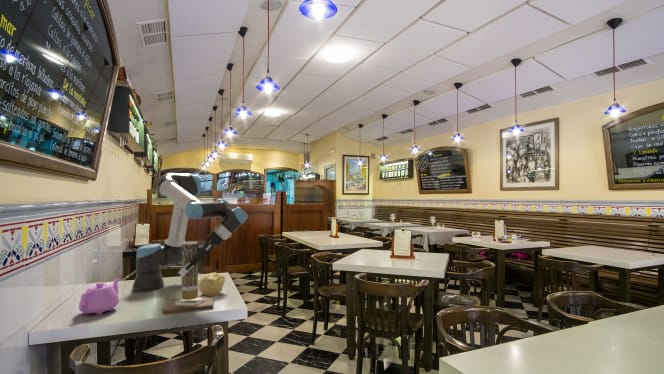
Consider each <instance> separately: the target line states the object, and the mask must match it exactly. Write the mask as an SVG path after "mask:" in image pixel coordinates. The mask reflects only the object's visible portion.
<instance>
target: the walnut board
mask: <svg viewBox="0 0 664 374" xmlns="http://www.w3.org/2000/svg"><path fill="white" fill-rule="evenodd" d="M214 296H215V295H214ZM214 296H209V295H204V296H198V297H197V298H195V299H191V300H184V299H182V298H176V299H175V298H174V299H167V301H166V302H165V304H164V306H163V308H162V312H161V313H162V315H165V314H174V313H176V314H177V313H184V312H193V311H194V312H195V311H202V310H212V309H214V300H215V299H214Z"/></svg>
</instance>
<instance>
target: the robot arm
mask: <svg viewBox="0 0 664 374" xmlns="http://www.w3.org/2000/svg"><path fill="white" fill-rule="evenodd" d="M155 188H156V191H157V192H158V193H159V194H160V195H161V196H163V197H165V198H169V199H170V200H172V201H173V202H174V205H173V209H172V214H171V220H170V226H169V231H168V238H166V239H165V240H164V243H163V245H161V243H153V244H152V243H149V244H145V245H143V246H140V247H138V248H137V250H136V254H135V255H136V256H135V258H136V259H135V260H136V262H135V263H136V273H135V277H134V280H133V284H132V291H133V292H139V293H140V292H142V293H143V292H152V291H157V290H161V289H163V288H164V287H165V282H164V279H163V276H162V272H161V270H162V269H161V268H164V267H168V266H174V265H176V266H177V265H180V264H181V265H182V243H183V242H187V241H186V240H185V239H186V238H185V237H186V234H187V227H188V223H189V222H188V221H189V220H193V219H194V220H199V219H201V220H202V219H216V218H218V219H222V220H221V222H219V223H218V225H217V226H215V228H214V229H213V230H212V231H210V233H209V234H207V237H208V239H209V241H206V242H205V243H204V244H203V245H202V246H201V248H200V249H198V254H197V255H196V256H195V257H194V258H193V259H192V260H189V262H188V263H187V264H186V265H185V266H184V267H183V268H182V267H181V268H180V269H179V271H178V272H177V274H179V275H180V276H181V278H182V277H183V276H184V275H185V274H186V273H187V272H188V271H189V270H190V269H191V268H192V267H193V266H194V265H196V264H197V263H198V264H199V262H200V261H201V260H202V259H203V258H204V257H205V256H206V255H207V254H208V253H210V251H212V250H213V248H214V245H216V246H217V247H221V246H222V245H223V244H224V243H225V240H228V239H229V238H232V235H233V234H234V233H235V231H237V230H238V229H239V228H240V227H241V226H242V225H243V224H244V223H245V222H246V220H247V219H248V217H249V216H248V215H249V214H248V213H246V212H245V211H244V210H243V209H242V208H241V207H239V206H236V207H235V208H234V206H232V205H231V204H230V203H229V202H228V201H227V200H226V199H224V198H221V197H220V198H216V199H215V200H214V201H202V200H200V199H199V198H197V197H196V196H198V195H199V194H200V193H201V192H202V182H201V180H200V177H199V176H198V175H197V174H193V173H192V174H191V173H178V172H177V173H176V172H168V173H164V174H162V175H160V176H159V177H158V178H157V180H156V183H155Z"/></svg>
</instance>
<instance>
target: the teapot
mask: <svg viewBox="0 0 664 374" xmlns="http://www.w3.org/2000/svg"><path fill="white" fill-rule="evenodd" d="M119 281H120V277H118V278H116V279H115V280H114V281H113V284H112V285H110V284H105V282H97V283H95V286H91V287H88V288H87V289H86V290H85V292H83V293H82V294H81V296H80V301H79V303H78V304H79V305H78V309H79V311H80V312H82V313H84V315H90V314H95V315H96V316H101V315H103V314H104V313H103V312H107V311H113V310H114V309H115V308H116V307H117V305H118V304H119V302H120V299H119V286H118V285H119Z"/></svg>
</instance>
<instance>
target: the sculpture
mask: <svg viewBox="0 0 664 374" xmlns="http://www.w3.org/2000/svg"><path fill="white" fill-rule="evenodd" d="M225 280H226V277H225V275H223V274H221V273H218V272H211V273H207V274H205V275H204V276H202V277H201V278H200V281H199V282H198V291H199V292H200V294H201V295H202V296H203V295H204V296H217V295H219V294H221V292H222V291H223V287H224V284H225V282H226V281H225Z"/></svg>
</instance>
